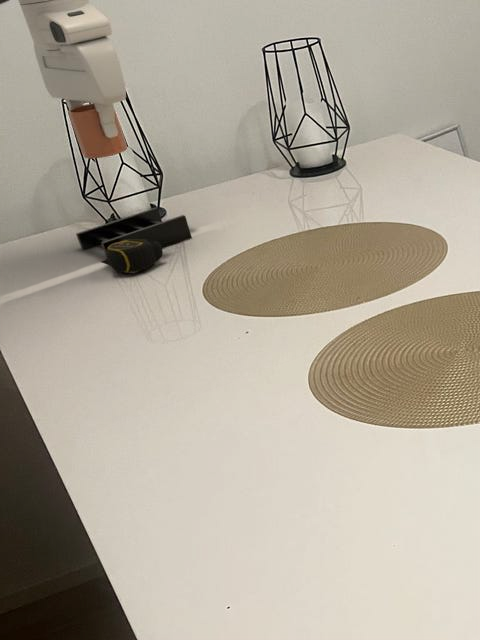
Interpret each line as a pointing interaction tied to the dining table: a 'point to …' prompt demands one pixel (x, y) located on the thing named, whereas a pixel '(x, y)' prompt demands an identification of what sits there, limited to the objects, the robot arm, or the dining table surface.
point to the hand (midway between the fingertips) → (99, 134)
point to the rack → (136, 231)
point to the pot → (95, 133)
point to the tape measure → (133, 254)
